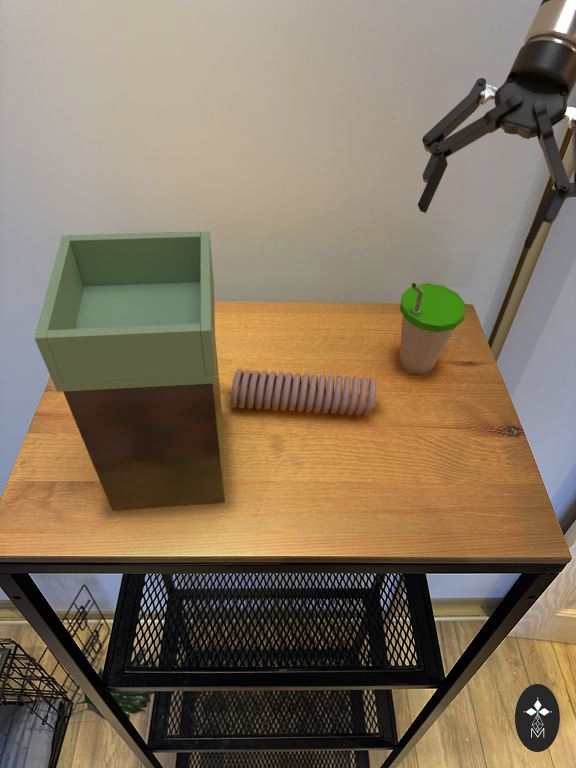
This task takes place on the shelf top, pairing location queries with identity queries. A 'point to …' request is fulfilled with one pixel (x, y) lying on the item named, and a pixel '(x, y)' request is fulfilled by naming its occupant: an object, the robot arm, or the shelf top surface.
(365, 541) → the shelf top surface
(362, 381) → the coil
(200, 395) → the stand
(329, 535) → the shelf top surface
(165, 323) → the bin
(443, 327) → the cup
